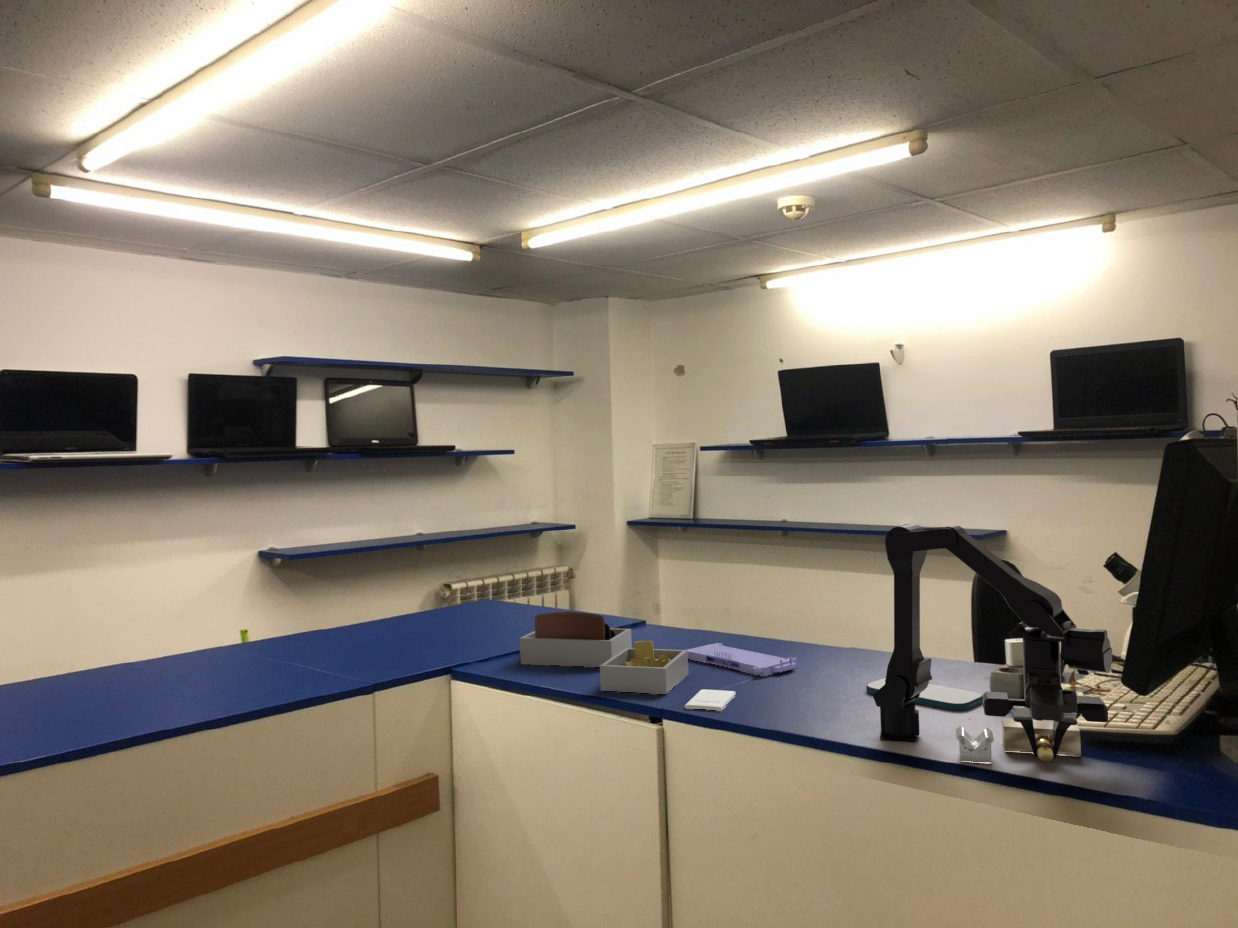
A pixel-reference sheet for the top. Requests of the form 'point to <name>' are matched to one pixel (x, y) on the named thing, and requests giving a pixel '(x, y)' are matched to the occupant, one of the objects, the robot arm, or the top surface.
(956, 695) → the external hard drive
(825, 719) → the top surface
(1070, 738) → the beam
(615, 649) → the holder tray
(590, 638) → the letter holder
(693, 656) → the computer part
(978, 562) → the robot arm
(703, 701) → the external hard drive
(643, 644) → the ball valve
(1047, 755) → the axle
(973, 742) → the v block
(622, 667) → the tray
